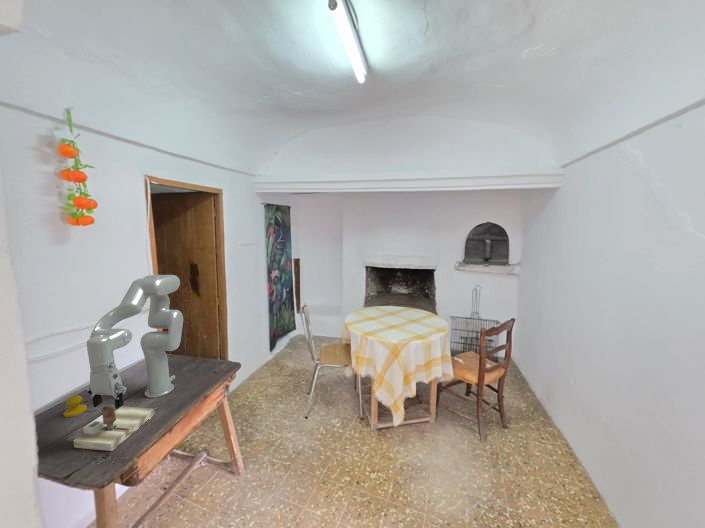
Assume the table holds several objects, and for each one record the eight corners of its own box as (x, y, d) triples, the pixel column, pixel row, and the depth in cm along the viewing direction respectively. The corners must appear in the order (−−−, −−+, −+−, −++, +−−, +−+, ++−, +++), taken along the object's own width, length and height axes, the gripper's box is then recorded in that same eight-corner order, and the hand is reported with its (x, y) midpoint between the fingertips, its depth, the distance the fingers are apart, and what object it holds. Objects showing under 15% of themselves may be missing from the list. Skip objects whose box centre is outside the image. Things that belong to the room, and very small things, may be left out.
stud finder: (102, 420, 130) (101, 415, 130) (112, 421, 130) (111, 415, 129) (84, 433, 122) (83, 427, 122) (94, 434, 122) (93, 428, 121)
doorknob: (78, 405, 146) (91, 408, 144) (59, 415, 138) (72, 418, 136) (76, 390, 145) (89, 393, 143) (56, 400, 137) (69, 403, 135)
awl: (111, 431, 128) (108, 404, 126) (119, 431, 128) (117, 405, 126) (102, 437, 124) (99, 410, 122) (111, 438, 124) (108, 411, 122)
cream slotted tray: (122, 412, 140) (122, 406, 140) (154, 414, 139) (154, 408, 138) (74, 447, 119) (73, 440, 118) (111, 450, 117) (110, 443, 117)
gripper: (130, 363, 124) (135, 401, 127) (92, 361, 126) (98, 399, 129) (114, 372, 117) (120, 413, 120) (73, 370, 119) (80, 410, 122)
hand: (108, 405), depth 125 cm, fingers open, 9 cm apart
